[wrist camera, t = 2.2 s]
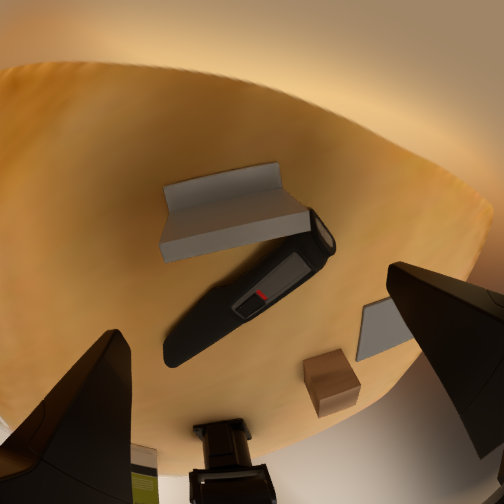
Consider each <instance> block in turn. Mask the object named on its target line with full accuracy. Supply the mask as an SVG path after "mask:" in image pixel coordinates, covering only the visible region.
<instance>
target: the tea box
mask: <svg viewBox="0 0 504 504" xmlns="http://www.w3.org/2000/svg"><path fill="white" fill-rule="evenodd" d="M157 473H158V472H157V451H156V449H151V448H147V447H143V446H139V445H135V444H131V476H132V493H133V504H159V494H158V474H157Z"/></svg>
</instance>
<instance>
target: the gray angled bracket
mask: <svg viewBox="0 0 504 504" xmlns="http://www.w3.org/2000/svg"><path fill="white" fill-rule="evenodd" d="M163 190H164V194H165V198H166V201H167V205H168V209H169V212H170V213H169V215H168V218H167V221H166V224H165V227H164V230H163V232H162V235H161V238H160V241H159V244H158V245H159V247H160V250H161V253H162V256H163V259H164V262H165V263H169V262H173V261H177V260H182V259H186V258H190V257H195V256H199V255H204V254H208V253H212V252H217V251H221V250H226V249H230V248H234V247H239V246H243V245H248V244H252V243H257V242H261V241H266V240H270V239H275V238H279V237H284V236H288V235H293V234H297V233H301V232H306V231H311V229H310V217H309V210H307V209H306V208H305V207H304V206H303V205H302V204H301V203H299V202H298V201H297V200H296V199H295V198H294V197H293V196H291V195H290V194H289V193H288V192H287V191H285V190H284V189H283V188H282V182H281V175H280V168H279V162H272V163H266V164H261V165H255V166H250V167H245V168H240V169H235V170H230V171H225V172H220V173H216V174H211V175H207V176H202V177H198V178H194V179H190V180H186V181H182V182H178V183H174V184H170V185H166V186H164V187H163Z"/></svg>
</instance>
